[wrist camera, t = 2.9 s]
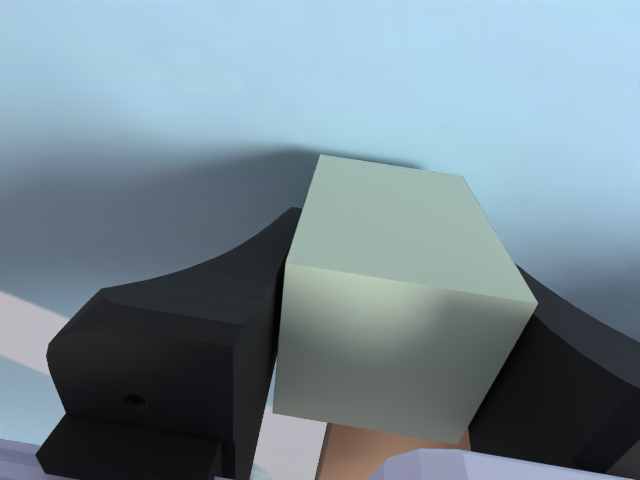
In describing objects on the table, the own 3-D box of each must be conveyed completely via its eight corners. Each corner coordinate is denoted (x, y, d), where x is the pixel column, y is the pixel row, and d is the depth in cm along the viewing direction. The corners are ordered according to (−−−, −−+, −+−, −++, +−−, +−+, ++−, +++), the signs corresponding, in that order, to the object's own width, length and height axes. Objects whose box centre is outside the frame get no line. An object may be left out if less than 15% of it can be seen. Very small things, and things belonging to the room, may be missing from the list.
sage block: (462, 175, 12) (538, 303, 7) (423, 287, 14) (457, 444, 9) (320, 153, 12) (285, 262, 7) (306, 268, 14) (272, 413, 9)
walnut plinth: (659, 379, 17) (693, 421, 15) (528, 519, 24) (541, 558, 22) (348, 329, 17) (346, 364, 15) (314, 482, 24) (310, 517, 23)
